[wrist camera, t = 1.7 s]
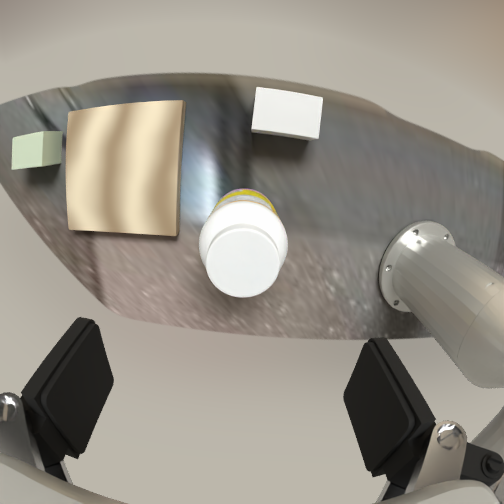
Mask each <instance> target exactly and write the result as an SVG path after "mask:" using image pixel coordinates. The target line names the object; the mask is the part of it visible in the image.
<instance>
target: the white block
mask: <svg viewBox="0 0 504 504" xmlns="http://www.w3.org/2000/svg"><path fill="white" fill-rule="evenodd" d="M322 102H323V98H322V97H317V96H312V95H307V94H301V93H296V92H289V91H283V90H276V89H269V88H260V87H257V88H256V96H255V104H254V113H253V121H252V129H251V132H253V133H262V134H270V135H278V136H285V137H291V138H298V139H304V140H314V139H318V137H319V129H320V120H321V111H322Z"/></svg>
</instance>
